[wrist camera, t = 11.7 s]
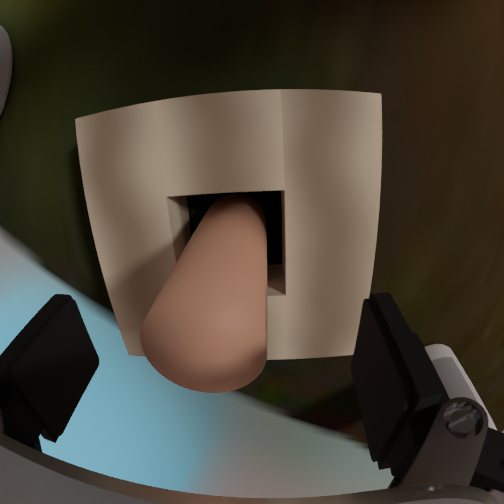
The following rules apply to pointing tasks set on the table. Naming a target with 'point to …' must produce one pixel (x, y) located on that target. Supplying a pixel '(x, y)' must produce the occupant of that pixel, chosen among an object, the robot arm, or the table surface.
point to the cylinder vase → (5, 66)
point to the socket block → (242, 180)
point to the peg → (214, 303)
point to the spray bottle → (453, 375)
